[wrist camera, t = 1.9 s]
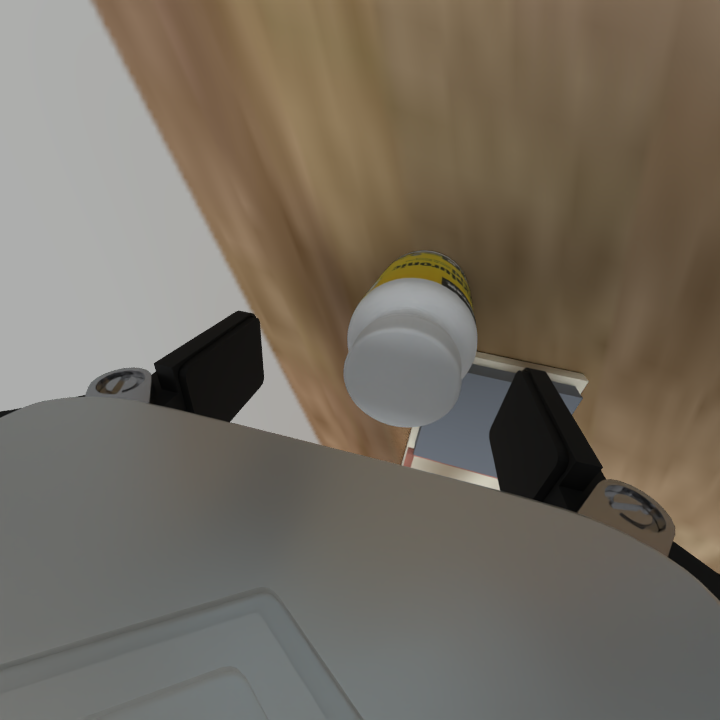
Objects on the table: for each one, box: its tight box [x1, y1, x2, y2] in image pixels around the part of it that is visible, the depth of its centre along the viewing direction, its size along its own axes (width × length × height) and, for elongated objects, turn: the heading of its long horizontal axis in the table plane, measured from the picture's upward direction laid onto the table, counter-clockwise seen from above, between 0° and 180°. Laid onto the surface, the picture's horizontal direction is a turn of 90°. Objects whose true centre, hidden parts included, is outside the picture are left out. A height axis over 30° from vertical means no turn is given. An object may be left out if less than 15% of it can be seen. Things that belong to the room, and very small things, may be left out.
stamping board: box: [401, 352, 589, 490], centre depth 23 cm, size 9×18×1 cm, turn 173°
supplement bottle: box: [344, 251, 477, 427], centre depth 14 cm, size 5×5×10 cm
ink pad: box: [413, 364, 583, 478], centre depth 20 cm, size 8×8×1 cm
